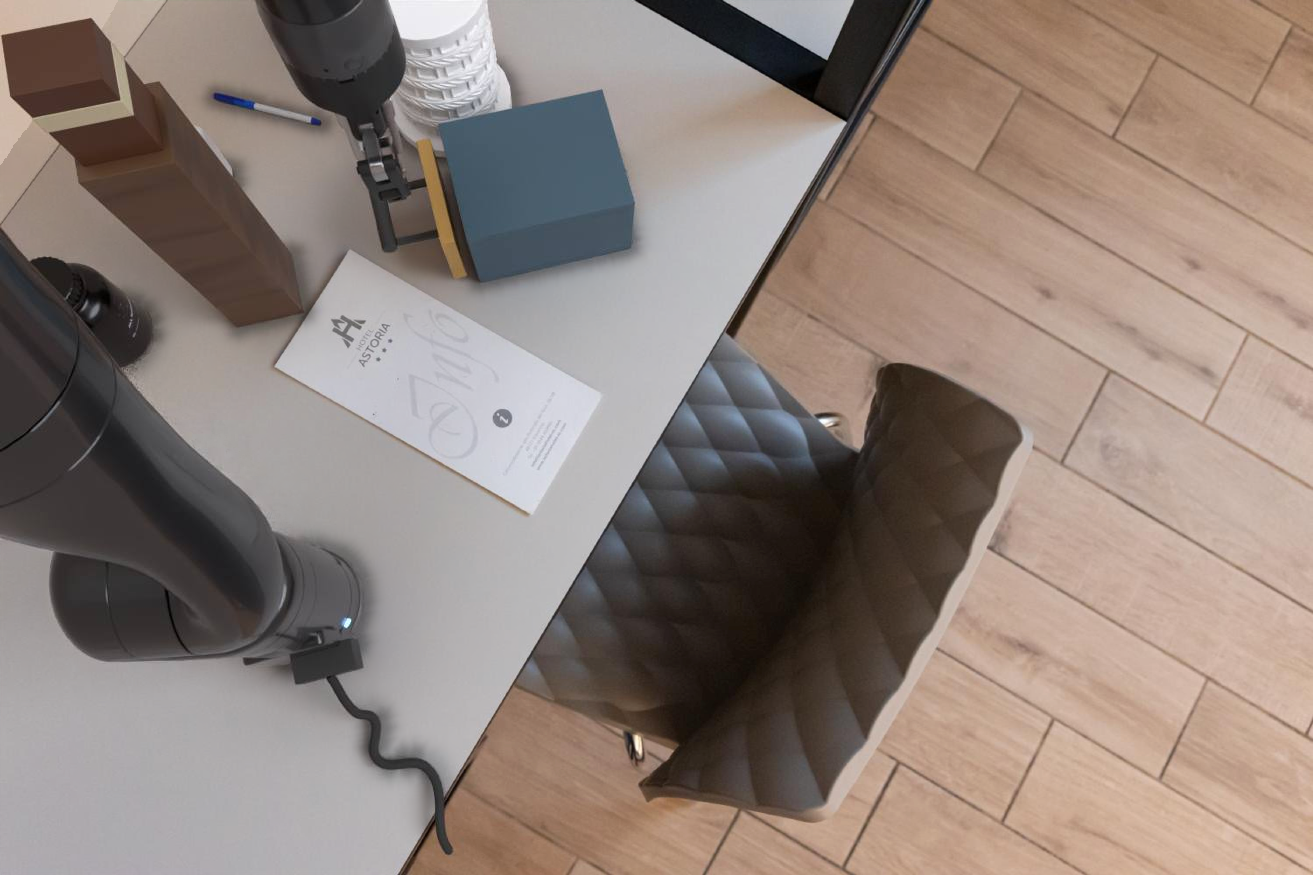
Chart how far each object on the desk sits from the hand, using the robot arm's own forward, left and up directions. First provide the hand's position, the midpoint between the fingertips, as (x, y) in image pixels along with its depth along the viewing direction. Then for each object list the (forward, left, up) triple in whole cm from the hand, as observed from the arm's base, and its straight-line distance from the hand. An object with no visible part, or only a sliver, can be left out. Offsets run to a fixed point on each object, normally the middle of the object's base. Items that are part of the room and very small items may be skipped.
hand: (388, 156), depth 77 cm
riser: (-2, +15, -16) cm, 22 cm away
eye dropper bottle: (+10, +19, -16) cm, 27 cm away
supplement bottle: (-3, +29, -16) cm, 33 cm away
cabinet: (0, -11, -16) cm, 19 cm away
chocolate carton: (-2, +15, +12) cm, 20 cm away
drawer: (0, -6, -15) cm, 16 cm away
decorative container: (+13, -6, -16) cm, 21 cm away
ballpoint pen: (+16, +12, -16) cm, 26 cm away
